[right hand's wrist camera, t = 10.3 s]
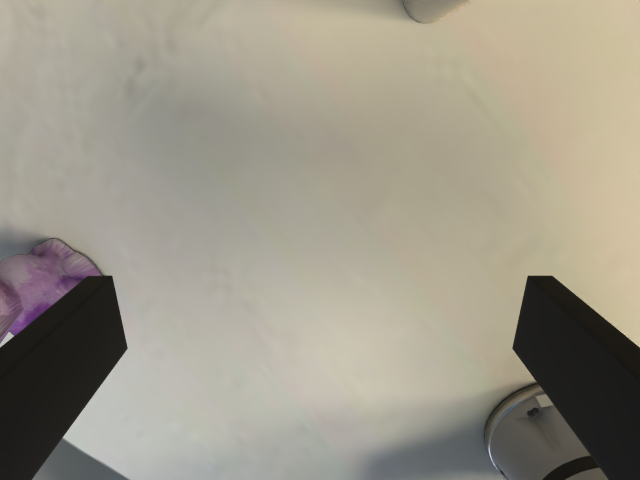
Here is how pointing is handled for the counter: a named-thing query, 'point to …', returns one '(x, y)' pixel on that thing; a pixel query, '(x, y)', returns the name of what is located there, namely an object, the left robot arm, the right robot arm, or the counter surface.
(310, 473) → the counter surface
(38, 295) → the figurine
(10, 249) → the counter surface
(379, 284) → the counter surface
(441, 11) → the bottle
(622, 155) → the counter surface
